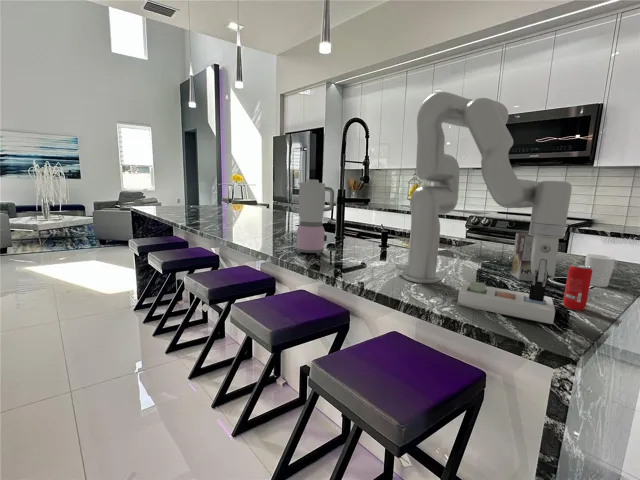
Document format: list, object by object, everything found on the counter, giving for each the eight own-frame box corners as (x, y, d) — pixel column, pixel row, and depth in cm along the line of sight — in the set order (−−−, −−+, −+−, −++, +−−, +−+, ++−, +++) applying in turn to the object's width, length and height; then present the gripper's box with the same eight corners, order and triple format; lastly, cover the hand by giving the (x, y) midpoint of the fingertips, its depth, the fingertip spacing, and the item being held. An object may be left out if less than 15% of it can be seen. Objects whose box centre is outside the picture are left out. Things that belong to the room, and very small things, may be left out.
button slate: (525, 309, 90) (526, 300, 89) (524, 305, 93) (526, 295, 93) (543, 313, 88) (544, 303, 87) (542, 308, 91) (543, 299, 91)
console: (457, 304, 94) (458, 292, 94) (463, 293, 105) (464, 282, 104) (553, 324, 84) (555, 311, 83) (549, 309, 94) (551, 297, 93)
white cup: (603, 282, 124) (609, 255, 122) (614, 289, 116) (619, 260, 114) (577, 280, 126) (582, 253, 124) (586, 285, 119) (591, 257, 117)
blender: (294, 255, 147) (296, 179, 141) (296, 249, 159) (299, 179, 153) (331, 256, 146) (335, 180, 141) (330, 250, 158) (334, 180, 153)
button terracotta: (495, 303, 93) (496, 294, 93) (496, 299, 97) (497, 290, 96) (512, 307, 91) (513, 297, 91) (512, 302, 95) (513, 293, 94)
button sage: (468, 293, 96) (469, 284, 96) (469, 289, 100) (471, 281, 99) (483, 296, 94) (485, 287, 94) (485, 292, 98) (486, 283, 97)
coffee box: (538, 282, 121) (545, 236, 118) (518, 280, 122) (525, 235, 119) (528, 275, 130) (534, 233, 127) (509, 273, 131) (515, 231, 128)
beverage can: (557, 304, 98) (564, 263, 96) (574, 304, 99) (581, 263, 97) (572, 311, 93) (580, 268, 91) (590, 311, 94) (598, 268, 92)
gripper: (568, 235, 79) (555, 311, 82) (561, 229, 91) (550, 295, 94) (529, 232, 82) (519, 305, 85) (528, 226, 95) (519, 289, 98)
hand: (535, 299), depth 90 cm, fingers closed
